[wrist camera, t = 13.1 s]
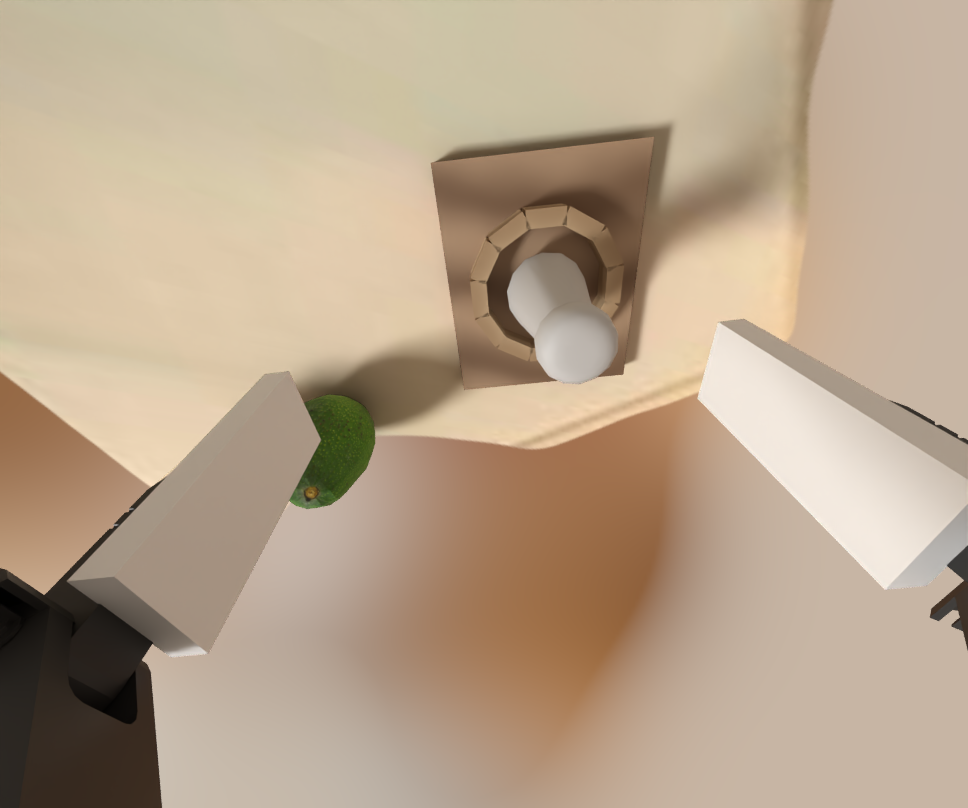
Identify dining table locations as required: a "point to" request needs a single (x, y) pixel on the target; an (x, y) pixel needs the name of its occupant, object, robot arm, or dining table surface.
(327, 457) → the avocado
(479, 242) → the cruet board
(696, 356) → the dining table surface
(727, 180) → the dining table surface
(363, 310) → the dining table surface
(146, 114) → the dining table surface
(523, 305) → the salt shaker
